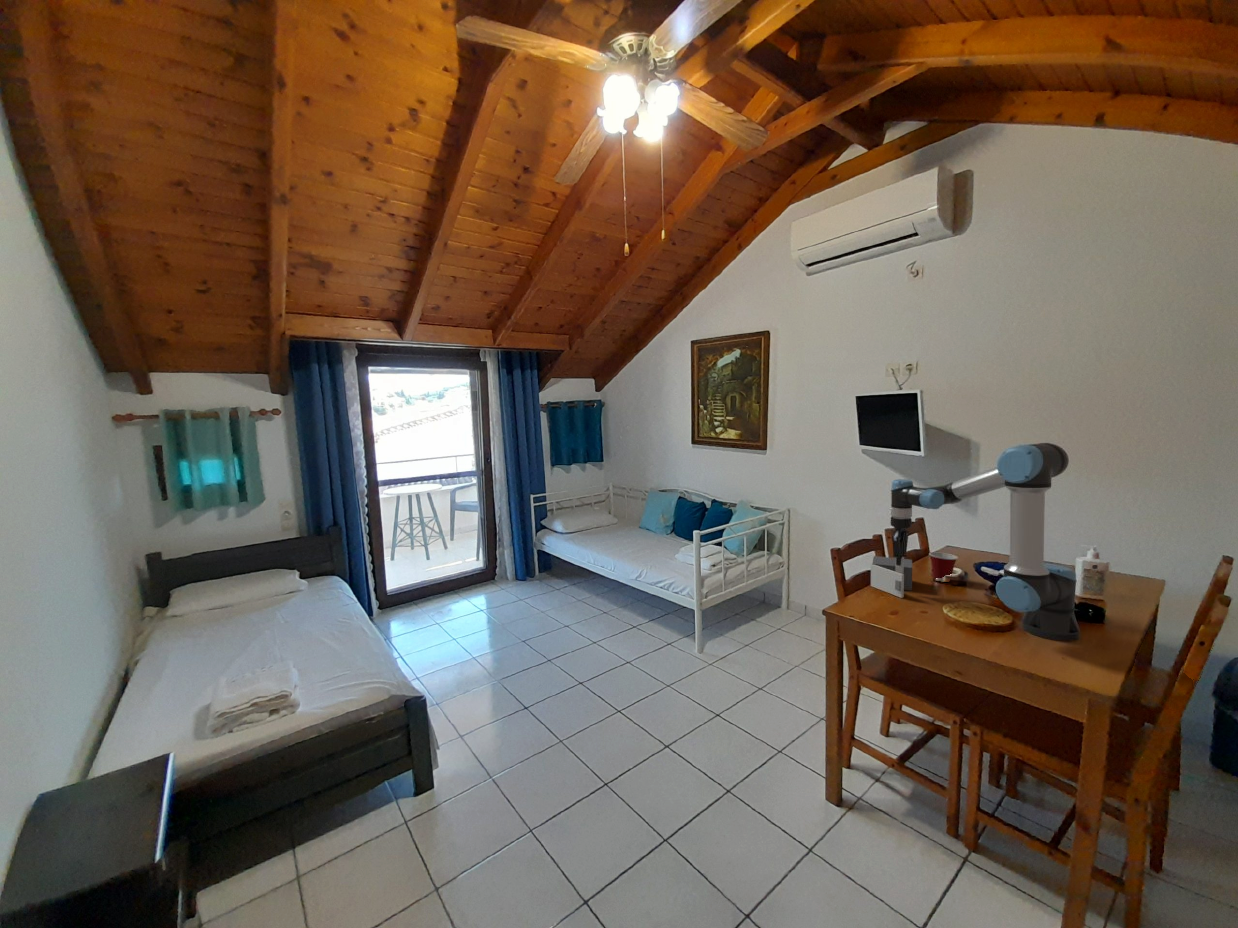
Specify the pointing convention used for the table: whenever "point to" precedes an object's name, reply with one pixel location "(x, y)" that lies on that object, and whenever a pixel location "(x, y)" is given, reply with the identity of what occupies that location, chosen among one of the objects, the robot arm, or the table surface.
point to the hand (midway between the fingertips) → (899, 572)
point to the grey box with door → (890, 564)
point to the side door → (887, 580)
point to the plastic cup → (942, 564)
